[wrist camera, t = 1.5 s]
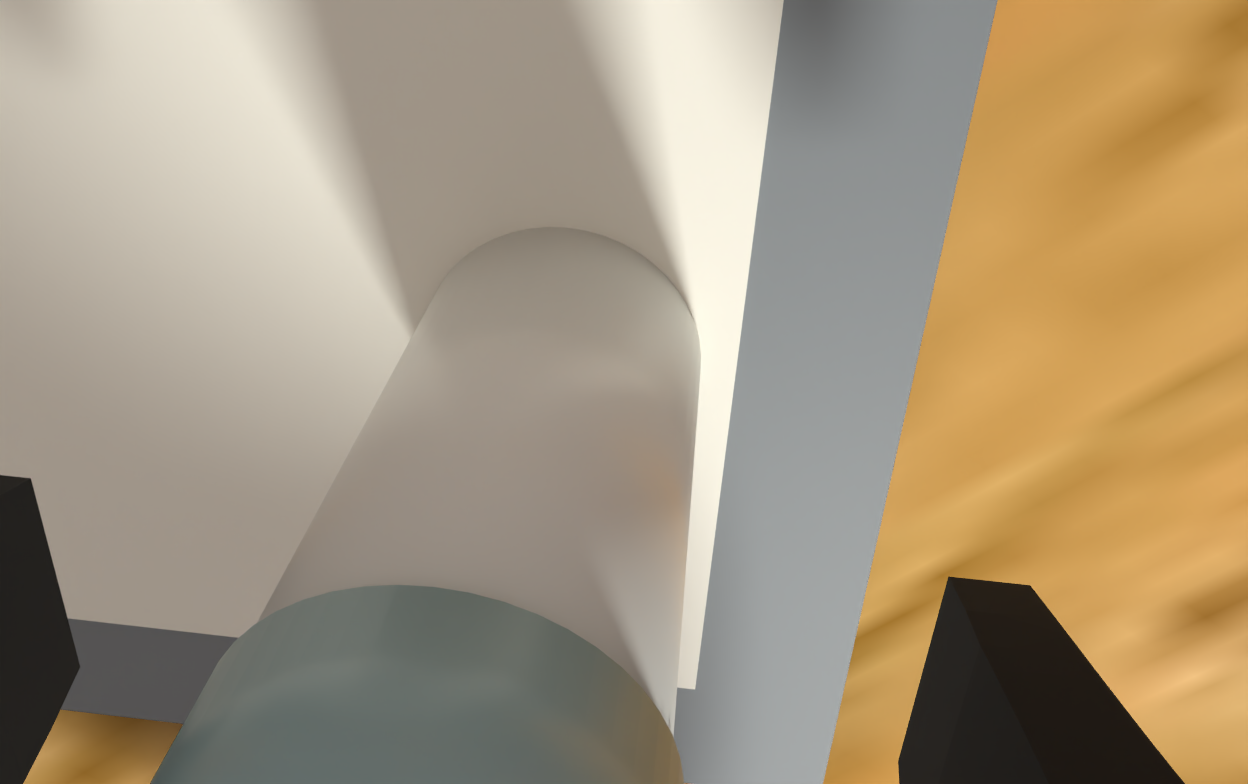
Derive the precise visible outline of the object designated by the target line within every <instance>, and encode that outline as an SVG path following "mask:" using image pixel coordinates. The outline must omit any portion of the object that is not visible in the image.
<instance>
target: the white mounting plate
mask: <svg viewBox="0 0 1248 784" xmlns="http://www.w3.org/2000/svg"><path fill="white" fill-rule="evenodd" d="M996 4H997V0H0V475H5V476H14V477H23V478H31V481H32V485H33V488H34V492H35V496H36V500H37V504H38V507H39V511H40V515H41V519H42V523H43V526H44V530H45V534H46V538H47V542H48V545H49V549H50V553H51V557H52V561H53V565H54V568H55V572H56V576H57V580H58V584H59V587H60V591H61V595H62V599H63V603H64V606H65V610H66V614H67V618H68V622H69V625H70V629H71V633H72V637H73V641H74V644H75V648H76V652H77V656H78V660H79V664H80V669H79V671H78V673H77V675H76V677H75V679H74V681H73V684H72V686H71V688H70V690H69V692H68V694H67V696H66V698H65V701H64V703H63V705H62V707H61V710H70V711H78V712H87V713H95V714H104V715H112V716H121V717H129V718H138V719H146V720H155V721H163V722H172V723H180V724H184V722H185V720H186V719H187V717H188V715H189V713H190V711H191V710H192V708H193V706H194V704H195V703H196V701H197V699H198V697H199V695H200V694H201V692H202V690H203V688H204V686H205V685H206V683H207V681H208V679H209V678H210V676H211V674H212V672H213V670H214V669H215V667H216V665H217V663H218V662H219V660H220V659H221V658H222V656H223V655H224V654H225V653H226V651H227V650H228V649H229V648H230V646H231V645H232V644H233V643H234V642H235V641H236V640H237V639H238V638H239V637H240V636H241V635H243V634H244V633H245V632H246V631H247V630H248V629H250V628H251V627H252V626H253V625H255V624H256V623H257V622H258V620H259V618H260V616H261V614H262V612H263V611H264V609H265V607H266V605H267V603H268V601H269V600H270V598H271V596H272V594H273V592H274V590H275V588H276V587H277V585H278V583H279V581H280V579H281V577H282V576H283V574H284V572H285V570H286V568H287V566H288V564H289V563H290V561H291V559H292V557H293V555H294V553H295V552H296V550H297V548H298V546H299V544H300V542H301V540H302V539H303V537H304V535H305V533H306V531H307V529H308V528H309V526H310V524H311V522H312V520H313V518H314V516H315V515H316V513H317V511H318V509H319V507H320V505H321V504H322V502H323V500H324V498H325V496H326V494H327V493H328V491H329V489H330V487H331V485H332V483H333V481H334V480H335V478H336V476H337V474H338V472H339V470H340V469H341V467H342V465H343V463H344V461H345V459H346V457H347V456H348V454H349V452H350V450H351V448H352V446H353V445H354V443H355V441H356V439H357V437H358V435H359V433H360V432H361V430H362V428H363V426H364V424H365V422H366V421H367V419H368V417H369V415H370V413H371V411H372V410H373V408H374V406H375V404H376V402H377V400H378V398H379V397H380V395H381V393H382V391H383V389H384V387H385V386H386V384H387V382H388V380H389V378H390V376H391V374H392V373H393V371H394V369H395V367H396V365H397V363H398V362H399V360H400V358H401V356H402V354H403V352H404V350H405V349H406V347H407V345H408V343H409V341H410V339H411V338H412V336H413V334H414V332H415V330H416V328H417V326H418V325H419V323H420V321H421V319H422V317H423V315H424V314H425V312H426V310H427V308H428V306H429V304H430V303H431V301H432V299H433V297H434V295H435V293H436V291H437V290H438V288H439V286H440V284H441V282H442V281H443V280H444V278H445V277H446V276H447V274H448V273H449V272H450V270H451V269H452V268H453V267H454V266H455V265H456V264H457V263H458V262H459V261H460V260H461V259H462V258H464V257H465V256H466V255H468V254H469V253H470V252H472V251H473V250H475V249H476V248H477V247H479V246H481V245H483V244H485V243H487V242H489V241H490V240H492V239H495V238H498V237H500V236H503V235H506V234H508V233H512V232H516V231H521V230H525V229H532V228H543V227H561V228H572V229H578V230H585V231H589V232H592V233H596V234H599V235H603V236H606V237H608V238H611V239H613V240H615V241H618V242H620V243H622V244H624V245H626V246H628V247H630V248H631V249H633V250H635V251H637V252H638V253H640V254H641V255H643V256H644V257H645V258H647V259H648V260H649V261H651V262H652V263H653V264H655V265H656V266H657V267H658V268H659V269H660V270H661V271H662V272H663V273H664V274H665V275H666V276H667V277H668V278H669V279H670V281H671V282H672V283H673V284H674V286H675V287H676V288H677V289H678V291H679V292H680V294H681V295H682V297H683V299H684V300H685V302H686V304H687V305H688V307H689V310H690V312H691V314H692V317H693V319H694V321H695V324H696V328H697V332H698V335H699V340H700V349H701V373H700V386H699V400H698V413H697V427H696V440H695V454H694V467H693V481H692V494H691V508H690V521H689V535H688V548H687V562H686V575H685V588H684V602H683V615H682V629H681V642H680V656H679V669H678V683H677V696H676V710H675V723H674V737H673V738H674V741H675V744H676V747H677V750H678V752H679V755H680V759H681V765H682V772H683V778H684V783H691V784H823V781H824V776H825V772H826V767H827V763H828V758H829V754H830V749H831V745H832V740H833V736H834V731H835V727H836V722H837V718H838V713H839V709H840V704H841V700H842V695H843V691H844V686H845V682H846V677H847V673H848V669H849V664H850V660H851V655H852V651H853V646H854V642H855V637H856V633H857V628H858V624H859V619H860V615H861V610H862V606H863V601H864V597H865V592H866V588H867V583H868V579H869V574H870V570H871V565H872V561H873V556H874V552H875V547H876V543H877V538H878V534H879V529H880V525H881V520H882V516H883V511H884V507H885V502H886V498H887V493H888V489H889V484H890V480H891V475H892V471H893V467H894V462H895V458H896V453H897V449H898V444H899V440H900V435H901V431H902V426H903V422H904V417H905V413H906V408H907V404H908V399H909V395H910V390H911V386H912V381H913V377H914V372H915V368H916V363H917V359H918V354H919V350H920V345H921V341H922V336H923V332H924V327H925V323H926V318H927V314H928V309H929V305H930V300H931V296H932V291H933V287H934V282H935V278H936V273H937V269H938V265H939V260H940V256H941V251H942V247H943V242H944V238H945V233H946V229H947V224H948V220H949V215H950V211H951V206H952V202H953V197H954V193H955V188H956V184H957V179H958V175H959V170H960V166H961V161H962V157H963V152H964V148H965V143H966V139H967V134H968V130H969V125H970V121H971V116H972V112H973V107H974V103H975V98H976V94H977V89H978V85H979V80H980V76H981V71H982V67H983V63H984V58H985V54H986V49H987V45H988V40H989V36H990V31H991V27H992V22H993V18H994V13H995V9H996Z"/></svg>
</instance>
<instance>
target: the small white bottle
mask: <svg viewBox="0 0 1248 784" xmlns="http://www.w3.org/2000/svg"><path fill="white" fill-rule="evenodd" d="M700 373H701V349H700V340H699V335H698V332H697V328H696V324H695V321H694V319H693V317H692V314H691V312H690V310H689V307H688V305H687V304H686V302H685V300H684V299H683V297H682V295H681V294H680V292H679V291H678V289H677V288H676V287H675V286H674V284H673V283H672V282H671V281H670V279H669V278H668V277H667V276H666V275H665V274H664V273H663V272H662V271H661V270H660V269H659V268H658V267H657V266H656V265H655V264H653V263H652V262H651V261H649V260H648V259H647V258H645V257H644V256H643V255H641V254H640V253H638V252H637V251H635V250H633V249H631V248H630V247H628V246H626V245H624V244H622V243H620V242H618V241H615V240H613V239H611V238H608V237H606V236H603V235H599V234H596V233H592V232H589V231H585V230H578V229H572V228H561V227H543V228H532V229H525V230H521V231H516V232H512V233H508V234H506V235H503V236H500V237H498V238H495V239H492V240H490V241H489V242H487V243H485V244H483V245H481V246H479V247H477V248H476V249H475V250H473V251H472V252H470V253H469V254H468V255H466V256H465V257H464V258H462V259H461V260H460V261H459V262H458V263H457V264H456V265H455V266H454V267H453V268H452V269H451V270H450V272H449V273H448V274H447V276H446V277H445V278H444V280H443V281H442V282H441V284H440V286H439V288H438V290H437V291H436V293H435V295H434V297H433V299H432V301H431V303H430V304H429V306H428V308H427V310H426V312H425V314H424V315H423V317H422V319H421V321H420V323H419V325H418V326H417V328H416V330H415V332H414V334H413V336H412V338H411V339H410V341H409V343H408V345H407V347H406V349H405V350H404V352H403V354H402V356H401V358H400V360H399V362H398V363H397V365H396V367H395V369H394V371H393V373H392V374H391V376H390V378H389V380H388V382H387V384H386V386H385V387H384V389H383V391H382V393H381V395H380V397H379V398H378V400H377V402H376V404H375V406H374V408H373V410H372V411H371V413H370V415H369V417H368V419H367V421H366V422H365V424H364V426H363V428H362V430H361V432H360V433H359V435H358V437H357V439H356V441H355V443H354V445H353V446H352V448H351V450H350V452H349V454H348V456H347V457H346V459H345V461H344V463H343V465H342V467H341V469H340V470H339V472H338V474H337V476H336V478H335V480H334V481H333V483H332V485H331V487H330V489H329V491H328V493H327V494H326V496H325V498H324V500H323V502H322V504H321V505H320V507H319V509H318V511H317V513H316V515H315V516H314V518H313V520H312V522H311V524H310V526H309V528H308V529H307V531H306V533H305V535H304V537H303V539H302V540H301V542H300V544H299V546H298V548H297V550H296V552H295V553H294V555H293V557H292V559H291V561H290V563H289V564H288V566H287V568H286V570H285V572H284V574H283V576H282V577H281V579H280V581H279V583H278V585H277V587H276V588H275V590H274V592H273V594H272V596H271V598H270V600H269V601H268V603H267V605H266V607H265V609H264V611H263V612H262V614H261V616H260V618H259V620H258V622H257V623H256V624H255V625H253V626H252V627H251V628H250V629H248V630H247V631H246V632H245V633H244V634H243V635H241V636H240V637H239V638H238V639H237V640H236V641H235V642H234V643H233V644H232V645H231V646H230V648H229V649H228V650H227V651H226V653H225V654H224V655H223V656H222V658H221V659H220V660H219V662H218V663H217V665H216V667H215V669H214V670H213V672H212V674H211V676H210V678H209V679H208V681H207V683H206V685H205V686H204V688H203V690H202V692H201V694H200V695H199V697H198V699H197V701H196V703H195V704H194V706H193V708H192V710H191V711H190V713H189V715H188V717H187V719H186V720H185V722H184V724H183V726H182V728H181V729H180V731H179V733H178V735H177V736H176V738H175V740H174V742H173V744H172V745H171V747H170V749H169V751H168V753H167V754H166V756H165V758H164V760H163V761H162V763H161V765H160V767H159V769H158V770H157V772H156V774H155V776H154V777H153V779H152V781H151V783H150V784H684V778H683V772H682V765H681V759H680V755H679V752H678V750H677V747H676V744H675V741H674V738H673V737H674V723H675V710H676V696H677V683H678V669H679V656H680V642H681V629H682V615H683V602H684V588H685V575H686V562H687V548H688V535H689V521H690V508H691V494H692V481H693V467H694V454H695V440H696V427H697V413H698V400H699V386H700Z"/></svg>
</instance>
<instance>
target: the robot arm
mask: <svg viewBox="0 0 1248 784" xmlns="http://www.w3.org/2000/svg"><path fill="white" fill-rule="evenodd" d="M79 669H80V664H79V660H78V656H77V652H76V648H75V644H74V641H73V637H72V633H71V629H70V625H69V622H68V618H67V614H66V610H65V606H64V603H63V599H62V595H61V591H60V587H59V584H58V580H57V576H56V572H55V568H54V565H53V561H52V557H51V553H50V549H49V545H48V542H47V538H46V534H45V530H44V526H43V523H42V519H41V515H40V511H39V507H38V504H37V500H36V496H35V492H34V488H33V485H32V481H31V478H23V477H14V476H5V475H0V784H23V783H24V781H25V779H26V777H27V775H28V773H29V771H30V769H31V767H32V765H33V763H34V761H35V759H36V757H37V755H38V754H39V752H40V750H41V748H42V746H43V744H44V742H45V740H46V738H47V736H48V734H49V732H50V730H51V728H52V726H53V724H54V722H55V720H56V718H57V715H58V713H59V711H60V709H61V707H62V705H63V703H64V701H65V698H66V696H67V694H68V692H69V690H70V688H71V686H72V684H73V681H74V679H75V677H76V675H77V673H78V671H79ZM898 765H899V783H900V784H1185V783H1184V782H1183V781H1182V780H1181V778H1180V777H1179V776H1178V775H1177V773H1176V772H1175V771H1174V770H1173V769H1172V767H1171V766H1170V765H1169V764H1168V762H1167V761H1166V760H1165V759H1164V757H1163V756H1162V755H1161V754H1160V752H1159V751H1158V750H1157V749H1156V747H1155V746H1154V745H1153V744H1152V742H1151V741H1150V740H1149V739H1148V737H1147V736H1146V735H1145V733H1144V732H1143V731H1142V730H1141V728H1140V727H1139V726H1138V725H1137V723H1136V722H1135V721H1134V719H1133V718H1132V717H1131V716H1130V714H1129V713H1128V712H1127V710H1126V709H1125V708H1124V707H1123V705H1122V704H1121V703H1120V701H1119V700H1118V699H1117V698H1116V696H1115V695H1114V694H1113V692H1112V691H1111V690H1110V689H1109V687H1108V686H1107V685H1106V683H1105V682H1104V681H1103V679H1102V678H1101V677H1100V675H1099V674H1098V673H1097V672H1096V670H1095V669H1094V668H1093V666H1092V665H1091V664H1090V662H1089V661H1088V660H1087V659H1086V657H1085V656H1084V655H1083V653H1082V652H1081V651H1080V649H1079V648H1078V647H1077V645H1076V644H1075V643H1074V642H1073V640H1072V639H1071V638H1070V636H1069V635H1068V634H1067V632H1066V631H1065V630H1064V629H1063V627H1062V626H1061V625H1060V623H1059V622H1058V621H1057V619H1056V618H1055V617H1054V616H1053V614H1052V613H1051V612H1050V610H1049V609H1048V608H1047V607H1046V605H1045V604H1044V603H1043V601H1042V600H1041V599H1040V598H1039V596H1038V595H1037V594H1036V592H1035V591H1034V590H1033V589H1032V587H1031V586H1030V585H1021V584H1012V583H1002V582H993V581H984V580H974V579H965V578H956V577H948V581H947V585H946V588H945V592H944V596H943V599H942V603H941V607H940V610H939V614H938V618H937V621H936V625H935V629H934V632H933V636H932V640H931V643H930V647H929V651H928V654H927V658H926V662H925V665H924V669H923V673H922V676H921V680H920V684H919V687H918V691H917V695H916V698H915V702H914V706H913V709H912V713H911V717H910V720H909V724H908V728H907V731H906V735H905V739H904V742H903V746H902V750H901V753H900V757H899V761H898Z"/></svg>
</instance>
